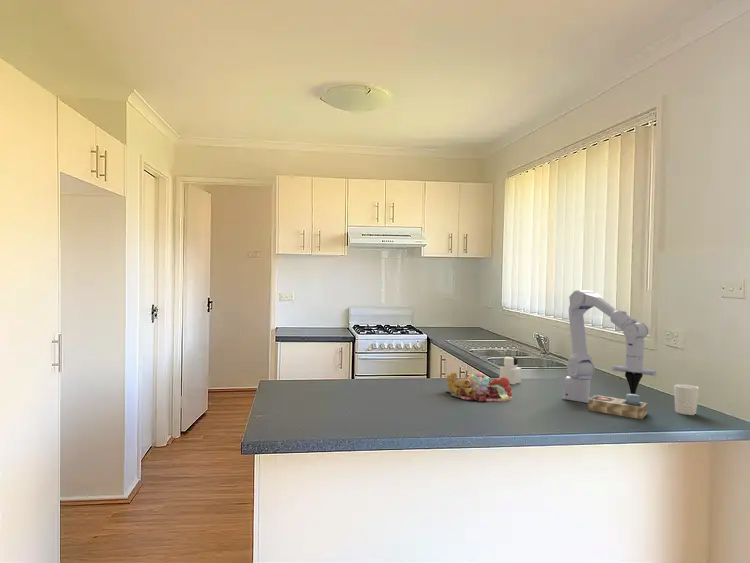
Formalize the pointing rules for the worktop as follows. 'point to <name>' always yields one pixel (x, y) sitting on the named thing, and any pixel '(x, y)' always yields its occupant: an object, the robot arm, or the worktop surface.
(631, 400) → the blue peg
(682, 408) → the white cup
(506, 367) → the medicine bottle
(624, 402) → the peg block
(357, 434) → the worktop surface
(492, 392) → the assorted food platter
